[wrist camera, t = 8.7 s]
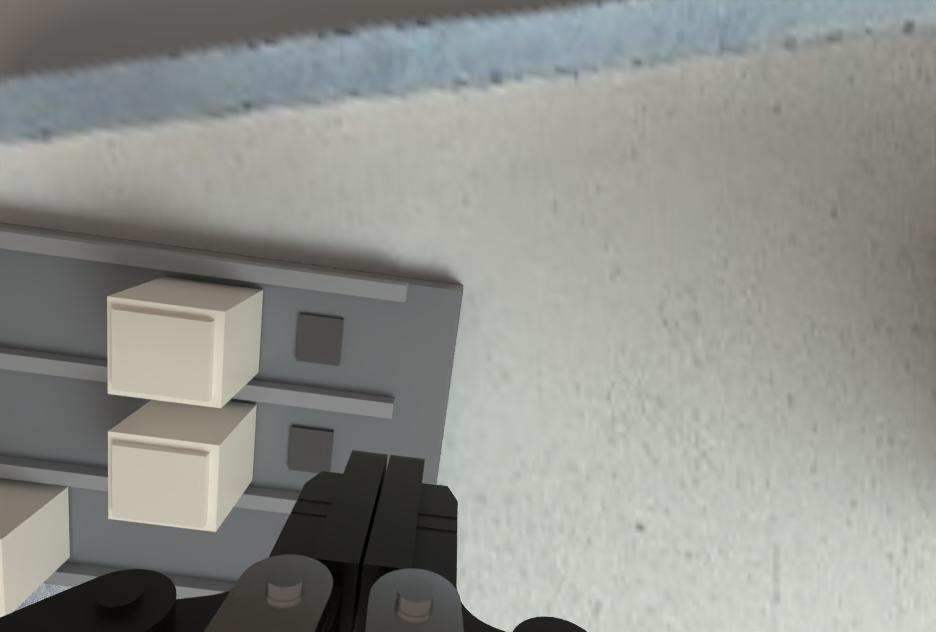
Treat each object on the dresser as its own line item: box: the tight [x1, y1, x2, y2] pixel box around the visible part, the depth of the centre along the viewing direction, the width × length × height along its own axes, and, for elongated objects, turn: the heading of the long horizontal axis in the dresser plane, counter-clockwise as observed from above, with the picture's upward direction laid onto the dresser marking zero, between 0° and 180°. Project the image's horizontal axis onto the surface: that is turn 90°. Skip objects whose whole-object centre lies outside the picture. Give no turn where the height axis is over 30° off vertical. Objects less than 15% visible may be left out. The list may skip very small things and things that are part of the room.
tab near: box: [107, 277, 263, 408], centre depth 20 cm, size 4×3×4 cm
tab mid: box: [108, 400, 257, 532], centre depth 22 cm, size 4×3×4 cm
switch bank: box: [0, 223, 463, 599], centre depth 23 cm, size 20×14×3 cm
